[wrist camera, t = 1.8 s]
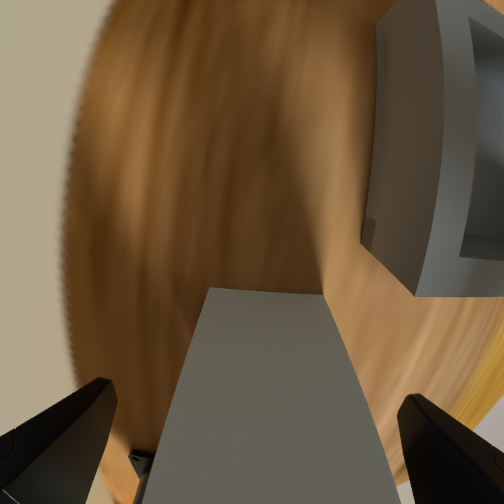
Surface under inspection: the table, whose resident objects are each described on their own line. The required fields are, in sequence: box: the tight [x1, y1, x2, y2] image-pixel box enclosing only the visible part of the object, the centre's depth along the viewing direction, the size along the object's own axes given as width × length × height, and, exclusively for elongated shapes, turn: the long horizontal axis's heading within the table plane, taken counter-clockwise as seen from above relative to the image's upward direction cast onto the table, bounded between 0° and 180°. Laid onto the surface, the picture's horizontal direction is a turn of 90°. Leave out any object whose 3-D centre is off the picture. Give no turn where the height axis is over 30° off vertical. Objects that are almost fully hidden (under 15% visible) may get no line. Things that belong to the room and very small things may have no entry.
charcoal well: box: [361, 0, 504, 297], centre depth 6 cm, size 8×8×4 cm
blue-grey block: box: [142, 287, 401, 504], centre depth 6 cm, size 4×4×10 cm
